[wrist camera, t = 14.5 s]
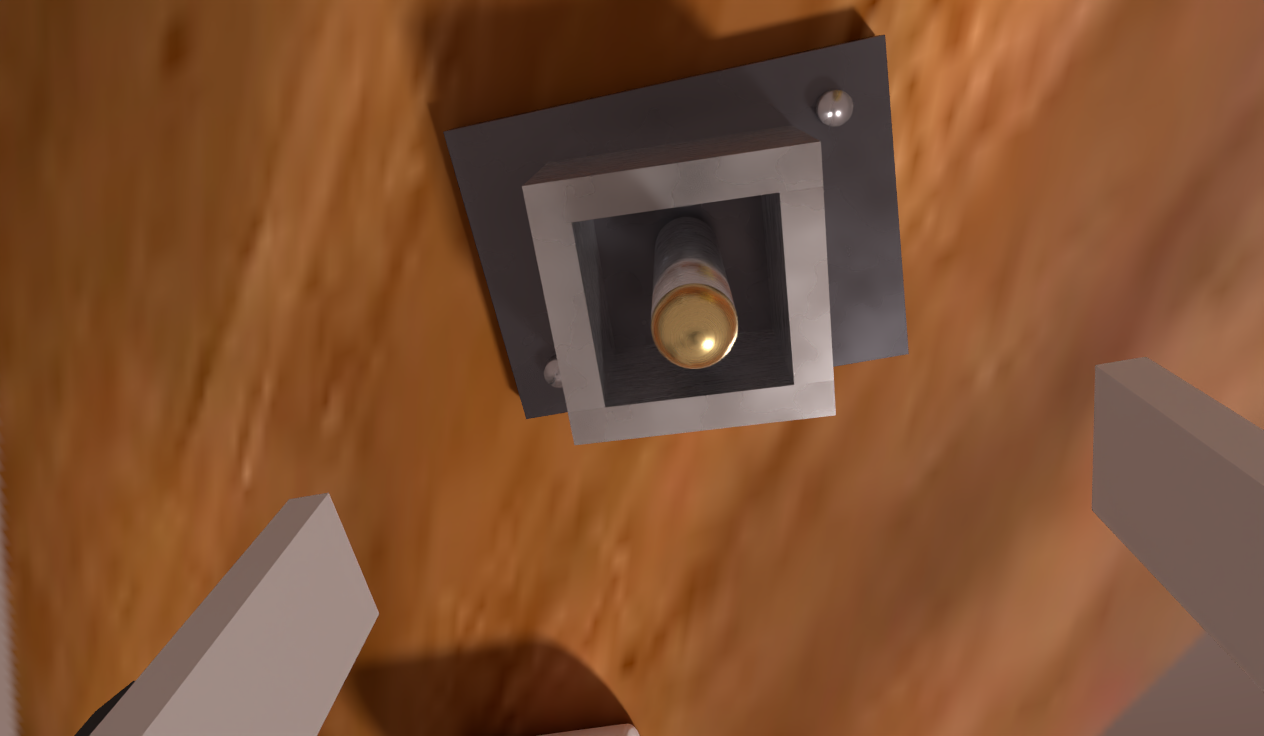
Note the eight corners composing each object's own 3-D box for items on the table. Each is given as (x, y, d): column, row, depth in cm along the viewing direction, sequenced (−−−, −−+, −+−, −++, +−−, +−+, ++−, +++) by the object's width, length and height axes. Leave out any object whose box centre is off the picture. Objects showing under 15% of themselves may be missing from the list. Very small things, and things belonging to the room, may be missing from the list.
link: (589, 381, 31) (574, 445, 26) (547, 162, 28) (522, 186, 23) (807, 355, 30) (835, 415, 25) (791, 125, 27) (820, 141, 22)
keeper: (530, 406, 33) (468, 569, 23) (451, 128, 29) (328, 172, 18) (900, 343, 31) (1017, 489, 21) (876, 35, 27) (1009, 24, 16)
